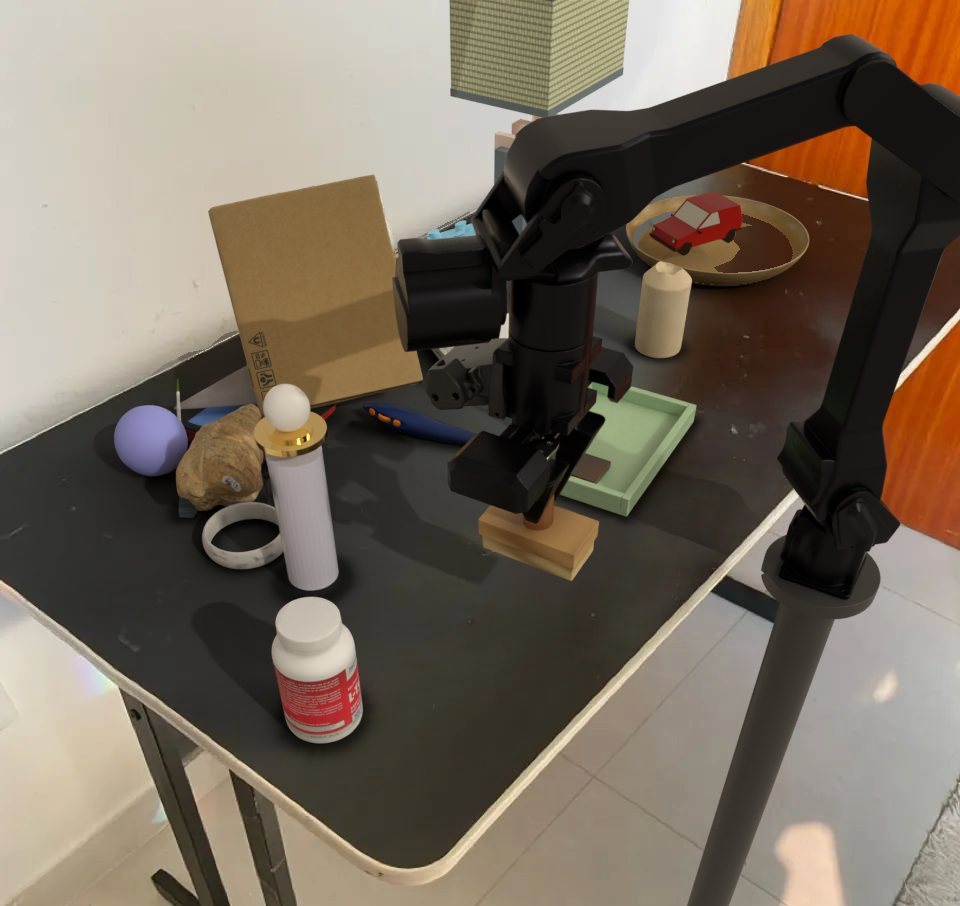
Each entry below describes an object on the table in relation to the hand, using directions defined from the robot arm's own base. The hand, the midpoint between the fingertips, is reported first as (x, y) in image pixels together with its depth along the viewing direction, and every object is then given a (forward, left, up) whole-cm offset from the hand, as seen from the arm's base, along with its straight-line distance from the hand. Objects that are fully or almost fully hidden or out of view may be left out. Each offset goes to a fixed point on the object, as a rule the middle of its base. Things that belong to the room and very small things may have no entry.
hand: (540, 511), depth 78 cm
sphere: (+40, -2, -9) cm, 41 cm away
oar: (+41, -3, -10) cm, 42 cm away
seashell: (+37, -2, -10) cm, 38 cm away
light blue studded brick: (+37, -49, -4) cm, 62 cm away
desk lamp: (+32, -64, -12) cm, 72 cm away
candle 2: (+8, -48, -12) cm, 50 cm away
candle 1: (+20, +5, -12) cm, 24 cm away
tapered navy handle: (+22, -19, -12) cm, 32 cm away
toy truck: (+11, -69, -8) cm, 70 cm away
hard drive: (+25, -38, -12) cm, 47 cm away
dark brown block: (+5, -21, -11) cm, 24 cm away
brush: (0, 0, -4) cm, 4 cm away
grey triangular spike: (+47, -8, -10) cm, 48 cm away
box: (+35, -19, +1) cm, 40 cm away
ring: (+28, +4, -12) cm, 31 cm away
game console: (+40, -12, -12) cm, 43 cm away
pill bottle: (+10, +18, -12) cm, 24 cm away
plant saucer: (+10, -74, -12) cm, 76 cm away
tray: (+5, -26, -12) cm, 29 cm away
